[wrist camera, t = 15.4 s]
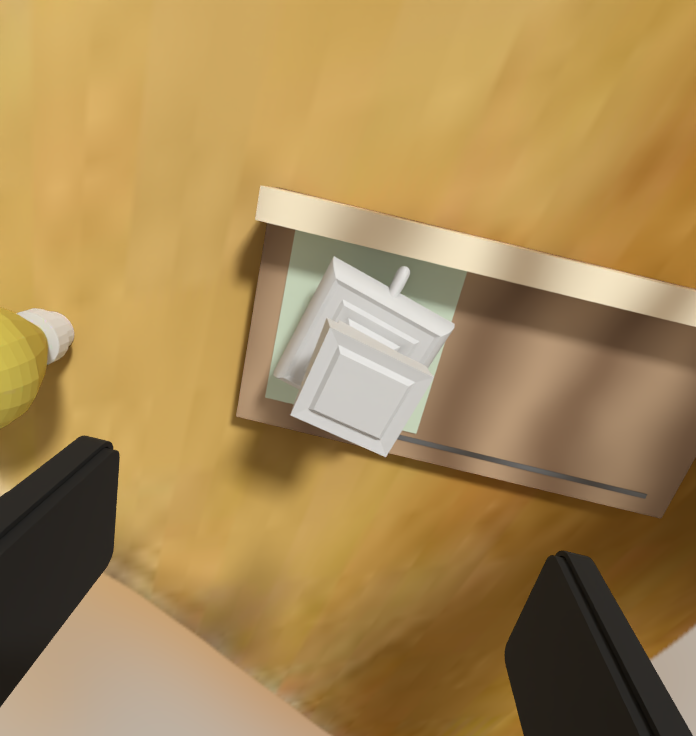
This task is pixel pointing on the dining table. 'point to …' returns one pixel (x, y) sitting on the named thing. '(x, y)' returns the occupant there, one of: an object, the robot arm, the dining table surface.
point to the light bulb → (28, 356)
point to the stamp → (361, 357)
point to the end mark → (423, 286)
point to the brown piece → (517, 360)
